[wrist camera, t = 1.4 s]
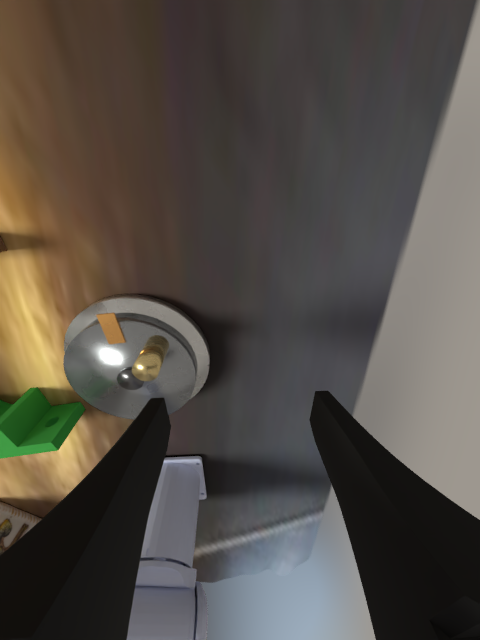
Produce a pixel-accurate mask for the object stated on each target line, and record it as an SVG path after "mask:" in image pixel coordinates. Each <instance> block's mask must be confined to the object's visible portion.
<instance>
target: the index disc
mask: <svg viewBox="0 0 480 640" xmlns="http://www.w3.org/2000/svg"><path fill="white" fill-rule="evenodd" d="M96 316H97V318H98V319H96V320H95V321H93V322H92V323H90V324H89V325H88V326H87V327H85V328H84V329H83V330H82V331H81V332H80V333H79V334H78V335H77V336H76V337H75V338H74V339H72V341H71V342H70V344H69V345H68V347H67V349H66V351H65V355H64V370H65V374H66V377H67V379H68V381H69V383H70V385H71V386H72V387H73V389H74V390H75V391H76V392H77V394H78V395H79V396H80V397H82V398H83V399H84V400H85V401H86V402H88V403H89V404H90V405H92V406H94V407H95V408H97V409H99V410H101V411H103V412H106V413H108V414H111V415H114V416H118V417H122V418H127V419H135V418H136V417H137V416H138V414H139V413H140V412H141V410H142V409H143V408H144V406H145V405H146V404H147V402H148V401H149V400H150V399H151V398H164V399H165V403H166V407H167V412H168V415H169V414H171V413H173V412H175V411H177V410H178V409H180V408H181V407H182V406H183V405H185V404H186V402H187V401H188V400H189V399H190V397H191V395H192V393H193V391H194V387H195V382H196V376H197V367H198V365H197V359H196V355H195V352H194V350H193V348H192V346H191V345H190V344H189V342H188V341H187V340H186V338H185V337H184V336H183V335H182V334H181V333H180V332H179V331H177V330H176V329H175V328H173V327H172V326H170V325H169V324H167V323H165V322H163V321H161V320H159V319H156V318H154V317H151V316H147V315H143V314H137V313H116V314H115V313H104V314H97V315H96Z"/></svg>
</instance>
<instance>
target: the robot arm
mask: <svg viewBox="0 0 480 640" xmlns="http://www.w3.org/2000/svg"><path fill="white" fill-rule="evenodd" d="M310 424H311V427H312V431H313V435H314V439H315V442H316V445H317V447H318V450H319V453H320V455H321V458H322V460H323V463H324V466H325V468H326V471H327V473H328V476H329V478H330V481H331V483H332V486H333V488H334V491H335V494H336V496H337V499H338V502H339V505H340V508H341V511H342V515H343V518H344V521H345V524H346V528H347V531H348V535H349V538H350V542H351V545H352V549H353V552H354V555H355V559H356V563H357V567H358V570H359V574H360V578H361V582H362V586H363V589H364V593H365V597H366V601H367V605H368V609H369V613H370V617H371V621H372V625H373V629H374V634H375V638H376V640H480V520H479V519H477V518H476V517H474V516H472V515H471V514H470V513H468V512H467V511H465V510H464V509H463V508H461V507H460V506H458V505H457V504H455V503H454V502H453V501H451V500H450V499H448V498H447V497H446V496H444V495H443V494H442V493H440V492H439V491H438V490H436V489H435V488H433V487H432V486H431V485H429V484H428V483H427V482H425V481H424V480H423V479H421V478H420V477H419V476H418V475H416V474H415V473H414V472H413V471H411V470H410V469H409V468H407V466H405V465H404V464H403V463H402V462H400V461H399V460H398V459H397V458H396V457H395V456H393V455H392V454H391V453H390V452H389V451H388V450H387V449H385V448H384V447H383V446H382V445H381V444H380V443H379V442H378V441H377V440H376V439H375V438H373V436H371V435H370V434H369V433H368V432H367V431H366V430H365V429H364V428H363V427H362V426H361V425H360V424H359V423H358V422H357V421H356V420H355V419H354V418H353V417H352V416H351V415H350V414H349V412H348V411H347V410H346V409H345V408H344V407H343V406H342V405H341V404H340V403H339V402H338V401H337V400H336V399H335V398H334V397H333V396H332V394H331V393H330V392H329V391H315V396H314V401H313V406H312V411H311V416H310ZM170 429H171V425H170V421H169V416H168V412H167V407H166V403H165V399H164V398H151V399H150V400H149V401H148V402H147V404H146V405H145V406H144V408H143V409H142V410H141V412H140V413H139V414H138V416H137V417H136V418H135V420H134V421H133V422H132V424H131V425H130V426H129V427H128V429H127V430H126V431H125V432H124V434H123V435H122V436H121V437H120V439H119V440H118V441H117V442H116V443H115V445H114V446H113V447H112V448H111V449H110V450H109V452H108V453H107V454H106V455H105V456H104V457H103V458H102V460H101V461H100V462H99V463H98V464H97V465H96V466H95V467H94V469H93V470H92V471H91V472H90V473H89V474H88V475H87V476H86V477H85V478H84V479H83V480H82V481H81V482H80V483H79V484H78V485H77V486H76V487H75V488H74V489H73V490H72V491H71V492H70V493H69V494H68V495H67V496H66V497H65V498H64V499H63V500H62V501H61V502H60V503H59V504H58V505H57V506H56V507H55V508H54V509H52V510H51V511H50V512H49V513H48V514H47V515H46V516H45V517H44V518H43V519H42V520H40V521H39V522H38V523H37V524H36V525H35V526H34V527H32V528H31V529H30V530H29V531H28V532H27V533H26V534H24V535H23V536H22V537H21V538H20V539H19V540H18V541H16V542H15V543H14V544H13V545H12V546H11V547H9V548H8V549H7V550H6V551H5V552H4V553H2V554H1V555H0V640H206V638H207V599H206V594H205V592H204V590H203V588H202V584H201V583H200V582H199V581H196V571H197V569H193V568H192V564H193V555H194V548H195V538H196V527H197V517H198V506H199V500H201V499H206V497H207V493H206V486H205V478H204V471H203V464H202V458H201V457H200V456H187V457H166V458H165V455H166V451H167V447H168V441H169V435H170Z"/></svg>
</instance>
